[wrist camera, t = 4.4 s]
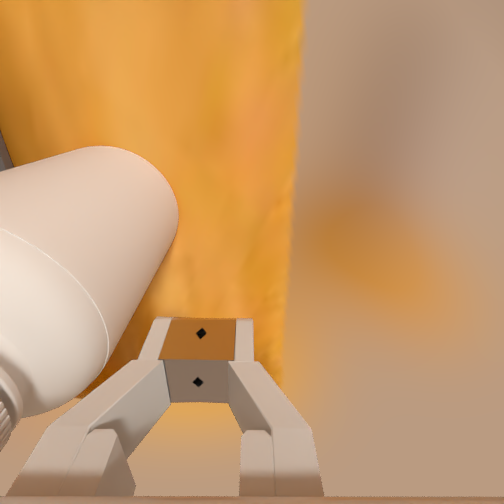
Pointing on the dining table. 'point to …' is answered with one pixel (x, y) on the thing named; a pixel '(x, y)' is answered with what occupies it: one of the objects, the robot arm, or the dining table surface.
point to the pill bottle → (73, 269)
